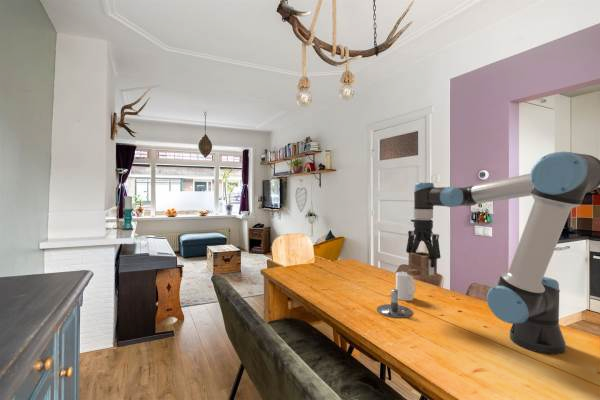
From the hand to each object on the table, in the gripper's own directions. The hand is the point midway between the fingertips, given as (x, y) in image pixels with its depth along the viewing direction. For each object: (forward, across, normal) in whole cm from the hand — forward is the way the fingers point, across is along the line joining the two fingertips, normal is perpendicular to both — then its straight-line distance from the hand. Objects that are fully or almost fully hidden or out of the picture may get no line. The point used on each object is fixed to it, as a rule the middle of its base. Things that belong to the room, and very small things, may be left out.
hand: (422, 272), depth 131 cm
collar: (0, 0, +2) cm, 2 cm away
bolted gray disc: (+18, +8, +8) cm, 21 cm away
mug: (+19, +16, -10) cm, 27 cm away
